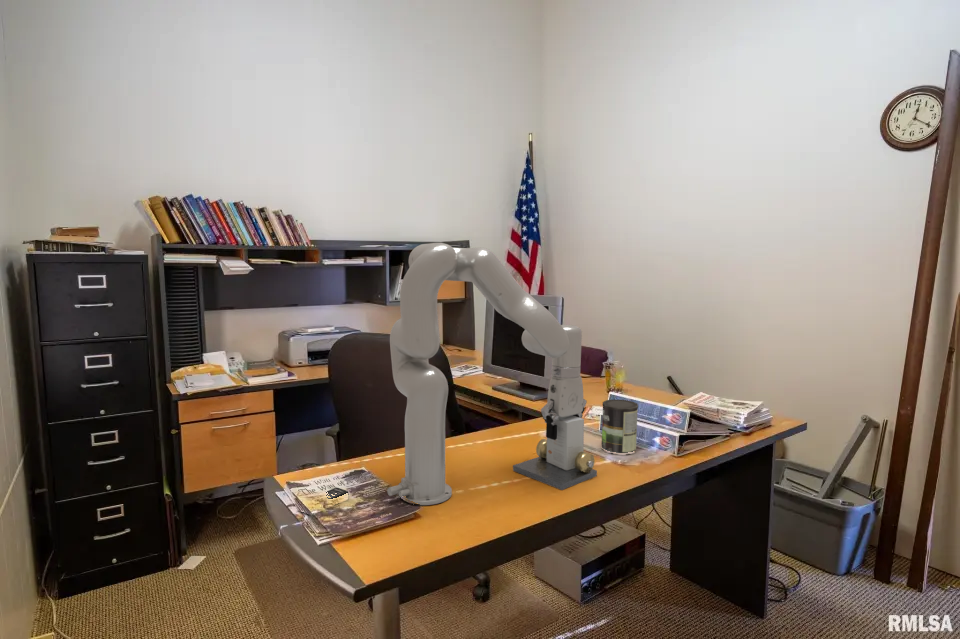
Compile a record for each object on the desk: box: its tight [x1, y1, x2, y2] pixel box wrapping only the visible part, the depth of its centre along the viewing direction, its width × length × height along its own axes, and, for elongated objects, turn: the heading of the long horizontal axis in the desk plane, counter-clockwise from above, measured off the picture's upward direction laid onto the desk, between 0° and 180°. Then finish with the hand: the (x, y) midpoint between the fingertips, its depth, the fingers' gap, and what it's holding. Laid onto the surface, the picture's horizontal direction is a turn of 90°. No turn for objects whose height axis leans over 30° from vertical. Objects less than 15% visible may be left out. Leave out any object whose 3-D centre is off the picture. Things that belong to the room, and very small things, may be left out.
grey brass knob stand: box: [512, 438, 598, 491], centre depth 150 cm, size 14×18×6 cm
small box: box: [546, 415, 585, 470], centre depth 152 cm, size 8×6×13 cm
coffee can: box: [601, 398, 639, 453], centre depth 169 cm, size 10×10×14 cm
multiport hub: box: [325, 487, 349, 499], centre depth 130 cm, size 4×11×2 cm, turn 144°
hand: (563, 435), depth 152 cm, fingers open, 9 cm apart
